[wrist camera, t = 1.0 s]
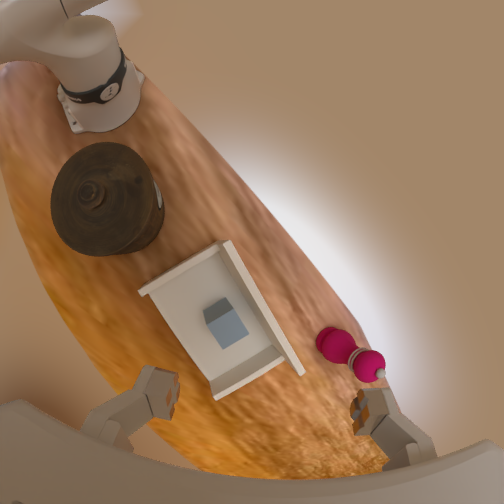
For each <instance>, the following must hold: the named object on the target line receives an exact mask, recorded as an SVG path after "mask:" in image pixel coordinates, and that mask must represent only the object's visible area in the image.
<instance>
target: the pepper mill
mask: <svg viewBox="0 0 504 504" xmlns="http://www.w3.org/2000/svg"><path fill="white" fill-rule="evenodd" d="M316 346H317V348H318V350H319V351H320V352H322V353H323V356H324V357H325V358H326V359H327V360H329V361H330V362H333V363H337V364H347V365H348V367H349V369H350V370H351V371H352V372H354V374H355V376H356V377H357V378H358V379H359V380H360V381H362V382H365V383H370V382H374V381H376V380H377V379H379V378H383V377H384V376H385V360H384V357H383V356H382V354H380V353H379V352H377V351H374V350H368V349H366V348H359V347H358V346H356V343H355V341H354V339H353V337H352V336H351V335H350V334H349V333H348V332H346V331H344V330H338V329H336V328H334V327H328V328H325V329H324V330H322V331H321V332H320V334H319V335H318V337H317V340H316Z"/></svg>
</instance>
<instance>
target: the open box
mask: <svg viewBox="0 0 504 504" xmlns="http://www.w3.org/2000/svg"><path fill="white" fill-rule="evenodd" d="M138 292H139V294H140V295H141V297H143V296H144V295H146V294H149V295H150V297H151V299H152V300H153V302H154V303H155V305H156V307H157V308H158V310H159V311H160V313H161V314H162V316H163V317H164V319H165V320H166V322H167V324H168V325H169V327H170V328H171V329H172V331H173V332H174V334H175V335H176V337H177V338H178V340H179V341H180V343H181V344H182V345H183V347H184V348H185V350H186V351H187V352H188V354H189V355H190V357H191V358H192V359H193V361H194V362H195V363H196V365H197V366H198V367H199V369H200V370H201V371H202V373H203V374H204V375H205V377H206V378H207V379H208V380H209V382H210V387H211V392H212V396H213V398H214V399H215V400H216V401H217V400H218V399H220V398H222V397H224V396H226V395H228V394H229V393H231V392H233V391H235V390H237V389H238V388H240V387H242V386H244V385H245V384H247V383H249V382H250V381H252V380H254V379H255V378H257V377H259V376H260V375H262V374H264V373H265V372H267V371H269V370H270V369H272V368H273V367H275V366H276V365H278V364H280V363H281V362H283V361H284V360H286V361H287V362H288V364H289V365H290V366H291V367H292V368H293V369H294V370H295V371H296V372H297V373H298V375H299V376H301V375H303V374H304V373H305V372H306V371H305V369H304V368H303V366H302V364H301V362H300V361H299V359H298V357H297V356H296V354H295V352H294V350H293V349H292V347H291V345H290V344H289V342H288V340H287V338H286V337H285V335H284V333H283V331H282V330H281V328H280V326H279V325H278V323H277V321H276V319H275V318H274V316H273V314H272V312H271V311H270V309H269V307H268V305H267V304H266V302H265V300H264V298H263V297H262V295H261V293H260V291H259V290H258V288H257V286H256V284H255V283H254V281H253V279H252V277H251V276H250V274H249V272H248V270H247V268H246V267H245V265H244V263H243V261H242V260H241V258H240V256H239V254H238V252H237V251H236V249H235V247H234V245H233V244H232V242H231V240H218V241H216V242H214V243H213V244H211V245H209V246H207V247H206V248H204V249H202V250H201V251H199V252H197V253H195V254H194V255H192V256H190V257H189V258H187V259H185V260H183V261H182V262H180V263H178V264H177V265H175V266H173V267H172V268H170V269H168V270H167V271H165V272H163V273H162V274H160V275H158V276H157V277H155V278H153V279H152V280H150V281H148V282H147V283H145V284H144V285H143V286H142V287H141V288H140V289H139V290H138ZM225 297H226V298H227V300H228V301H229V303H230V304H231V305H232V307H233V308H234V309H235V311H236V313H237V314H238V316H239V318H240V319H241V321H242V322H243V324H244V326H245V327H246V329H247V330H248V332H249V335H247V336H245V337H244V338H242V339H240V340H239V341H237V342H235V343H234V344H232V345H230V346H229V347H227V348H225V349H224V350H223V349H222V348H221V346H220V345H219V343H218V342H217V340H216V339H215V337H214V336H213V334H212V333H211V331H210V330H209V328H208V327H207V325H206V322H205V318H204V314H203V310H205V309H206V308H208V307H210V306H211V305H213V304H215V303H216V302H218V301H220V300H221V299H223V298H225Z"/></svg>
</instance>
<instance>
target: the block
mask: <svg viewBox="0 0 504 504" xmlns="http://www.w3.org/2000/svg"><path fill="white" fill-rule="evenodd" d="M203 314H204V318H205V322H206V325H207V327H208V328H209V330H210V331H211V333H212V334H213V336H214V337H215V339H216V340H217V342H218V343H219V345H220V346H221V348H222V349H223V350H224V349H225V348H227V347H229V346H230V345H232V344H234V343H235V342H237V341H239V340H240V339H242V338H244V337H245V336H247V335H249V332H248V330H247V329H246V327H245V326H244V324H243V322H242V321H241V319H240V318H239V316H238V314H237V313H236V311H235V309H234V308H233V307H232V305H231V304H230V303H229V301H228V300H227V298H226V297H225V298H223V299H221V300H220V301H218V302H216V303H215V304H213V305H211V306H210V307H208V308H206V309H205V310H203Z"/></svg>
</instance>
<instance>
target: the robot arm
mask: <svg viewBox="0 0 504 504" xmlns="http://www.w3.org/2000/svg"><path fill="white" fill-rule="evenodd" d="M105 1H107V0H0V64H3V63H7V62H12V61H31V62H37V63H40V64H43V65H45V66H46V67H48V68H49V69H50V70H51V71H52V72H53V73H54V75H55V76H56V77H57V78H58V79H59V81H60V85H59V87H58V89H57V90H58V94H57V97H58V99H59V101H60V102H61V103H62V105H63V108H64V111H65V114H66V117H67V119H68V122H69V125H70V127H71V130H72V131H73V133H75V134H78V133H82V132H85V131H91V132H106V131H109V130H112V129H115V128H117V127H119V126H120V125H122V124H123V123H124V122H126V121H127V120H128V119H129V118H130V117H131V116H132V115H133V113H134V112H135V110H136V109H137V107H138V104H139V101H140V89H141V86H142V84H143V82H144V80H145V77H144V74H142V73H141V72H139V71H137V70H136V69H135V66H134V64H133V62H132V61H129V60H127V59H126V58H125V55H124V53H123V51H122V49H121V48H120V47H119V44H118V41H117V37H116V33H115V29H114V26H113V25H112V23H111V22H110V21H108V20H107V19H105V18H102V17H99V16H95V15H85V16H77V17H74V16H76V15H78V14H80V13H82V12H84V11H85V10H88V9H90V8H92V7H94V6H96V5H98V4H101V3H103V2H105ZM75 123H76V124H75ZM74 124H75V125H74ZM178 378H179V376H178V373H177V372H173V371H169V370H165V369H161V368H157V367H153V366H150V365H145V366H144V367H143V369H142V370H141V372H140V374H139V376H138V378H137V380H136V382H135V384H134V386H133V389H132V390H127V391H125V392H124V393H122V394H120V395H118V396H116V397H115V398H113V399H111V400H109V401H107V402H106V403H104V404H102V405H100V406H98V407H97V408H95V409H93V410H91V411H90V413H89V414H88V416H87V418H86V420H85V422H84V424H83V425H82V428H81V429H80V431H78V430H76V429H74V428H72V427H70V426H68V425H66V424H64V423H62V422H60V421H59V420H57V419H55V418H53V417H51V416H50V415H48V414H46V413H45V412H43V411H41V410H40V409H38V408H36V407H35V406H33V405H31V404H30V403H28V402H27V401H25V400H22V399H20V400H15V401H12V402H9V403H6V404H3V405H0V504H504V450H503V449H502V448H500V447H499V446H498V445H497V444H495V443H494V442H492V441H491V440H488V439H485V440H482V441H479V442H478V443H475V444H473V445H470V446H468V447H466V448H463V449H460V450H458V451H456V452H452V453H450V454H447V455H444V456H441V457H437V454H436V452H435V448H434V445H433V442H432V439H431V437H429V436H428V435H427V434H426V433H425V432H423V431H422V430H421V429H420V428H419V427H418V426H416V425H415V424H414V423H413V422H411V421H410V420H409V419H408V418H407V417H406V416H404V415H403V414H402V413H399V411H398V408H397V405H396V402H395V400H394V397H393V394H392V391H391V389H390V388H369V389H360V390H359V391H358V393H357V397H356V398H355V399H353V401H352V403H351V406H350V416H351V418H352V419H353V420H354V423H353V424H352V426H353V432H354V436H360V435H370V436H371V437H372V439H373V440H374V441H375V442H376V443H377V445H378V446H379V447H380V448H381V449H382V450H383V452H384V453H385V454H386V455H387V456H388V458H389V459H390V460H389V461H388V462H387V463H385V464H384V465H383V466H382V471H383V472H378V473H372V474H365V475H358V476H351V477H341V478H330V479H311V480H277V479H258V478H246V477H237V476H229V475H222V474H215V473H209V472H203V471H198V470H193V469H188V468H184V467H180V466H175V465H171V464H167V463H164V462H160V461H157V460H153V459H149V458H146V457H143V456H140V455H137V454H134V453H133V450H134V448H133V446H132V444H131V443H130V441H129V439H128V438H127V437H129V436H130V435H131V434H133V433H134V432H135V431H137V430H138V429H139V428H140V427H142V426H143V425H144V424H146V423H147V422H148V421H150V420H151V419H152V418H153V417H157V418H161V419H165V420H170V421H171V419H172V416H173V413H174V410H175V408H174V404H175V403H176V402H177V401H178V398H179V393H180V383H179V382H178Z"/></svg>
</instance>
